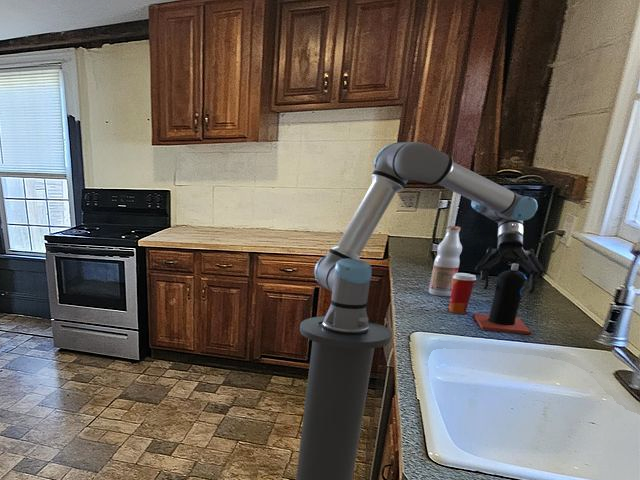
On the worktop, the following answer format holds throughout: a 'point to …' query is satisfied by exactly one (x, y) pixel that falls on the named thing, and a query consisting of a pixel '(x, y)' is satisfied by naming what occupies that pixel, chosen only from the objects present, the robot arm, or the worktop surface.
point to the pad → (486, 325)
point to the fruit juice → (446, 263)
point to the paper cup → (461, 292)
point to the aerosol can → (507, 296)
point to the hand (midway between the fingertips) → (508, 289)
